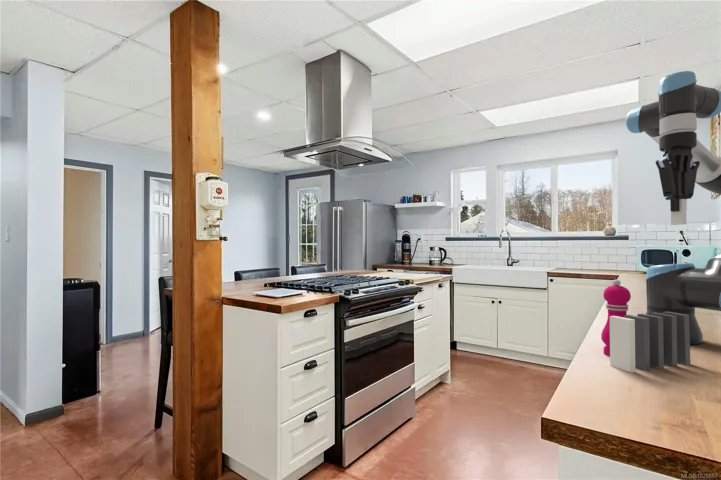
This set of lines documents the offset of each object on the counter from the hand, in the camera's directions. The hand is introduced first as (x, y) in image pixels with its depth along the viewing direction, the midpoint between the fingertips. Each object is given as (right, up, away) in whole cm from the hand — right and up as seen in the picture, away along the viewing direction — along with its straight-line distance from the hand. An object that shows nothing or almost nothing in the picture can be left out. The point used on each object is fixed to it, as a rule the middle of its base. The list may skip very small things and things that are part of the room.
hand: (678, 224), depth 100 cm
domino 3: (-8, -34, -5) cm, 36 cm away
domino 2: (-12, -34, -7) cm, 37 cm away
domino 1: (-17, -34, -8) cm, 39 cm away
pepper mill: (-15, -35, +1) cm, 38 cm away
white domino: (-21, -34, -9) cm, 41 cm away
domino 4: (-4, -34, -4) cm, 35 cm away
